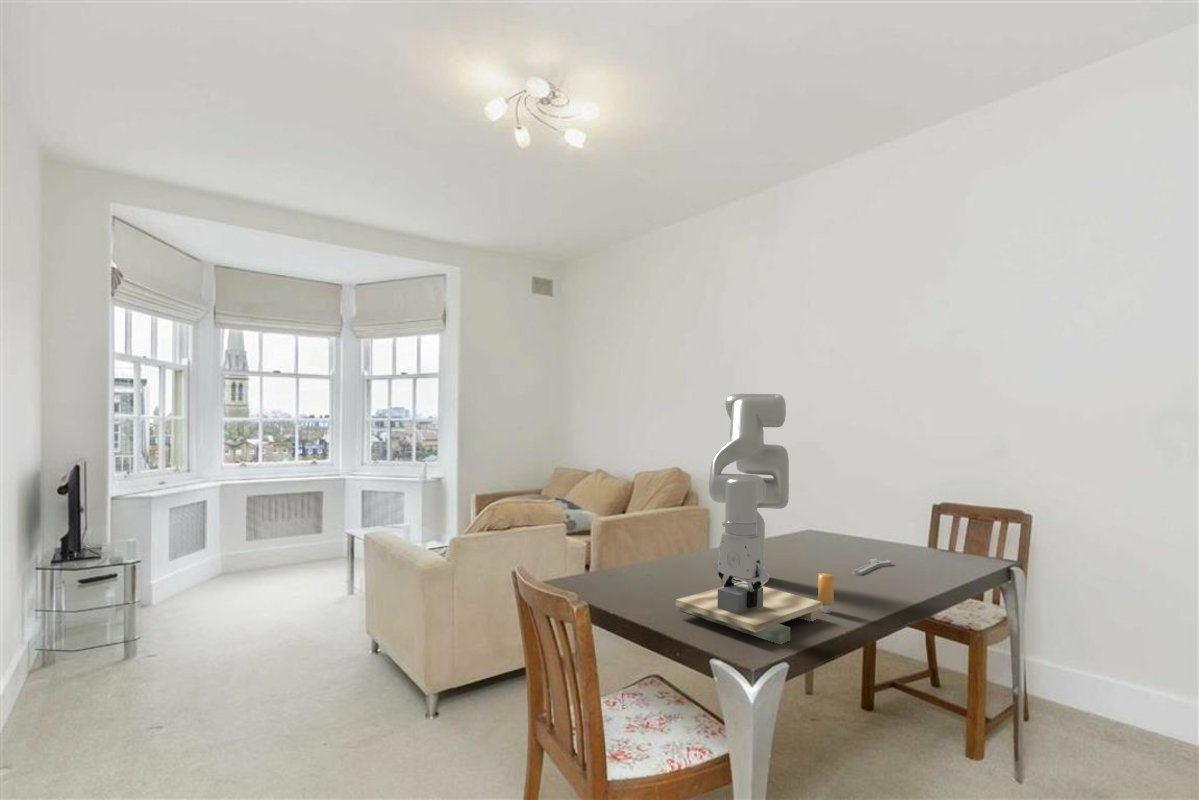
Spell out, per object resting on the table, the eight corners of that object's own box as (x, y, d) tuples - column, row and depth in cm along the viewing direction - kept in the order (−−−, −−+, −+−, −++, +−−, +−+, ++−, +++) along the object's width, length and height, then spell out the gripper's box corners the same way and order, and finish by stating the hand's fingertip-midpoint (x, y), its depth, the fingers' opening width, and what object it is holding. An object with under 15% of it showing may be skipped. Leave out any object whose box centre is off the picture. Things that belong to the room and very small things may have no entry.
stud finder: (717, 608, 146) (717, 588, 146) (742, 600, 152) (742, 581, 153) (737, 614, 141) (738, 594, 141) (763, 606, 148) (763, 587, 148)
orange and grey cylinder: (815, 611, 159) (815, 574, 159) (822, 608, 161) (823, 572, 162) (828, 614, 156) (828, 577, 156) (836, 612, 159) (836, 575, 159)
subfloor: (666, 614, 155) (666, 596, 155) (734, 594, 173) (734, 578, 173) (767, 650, 132) (767, 629, 132) (833, 623, 150) (833, 604, 150)
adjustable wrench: (859, 577, 196) (859, 572, 196) (840, 573, 201) (840, 568, 201) (893, 565, 212) (893, 560, 212) (875, 562, 217) (875, 557, 217)
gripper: (703, 525, 151) (702, 598, 151) (762, 536, 138) (761, 616, 138) (722, 522, 156) (721, 592, 156) (780, 532, 143) (780, 609, 143)
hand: (740, 602), depth 147 cm, fingers closed on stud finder, 6 cm apart
